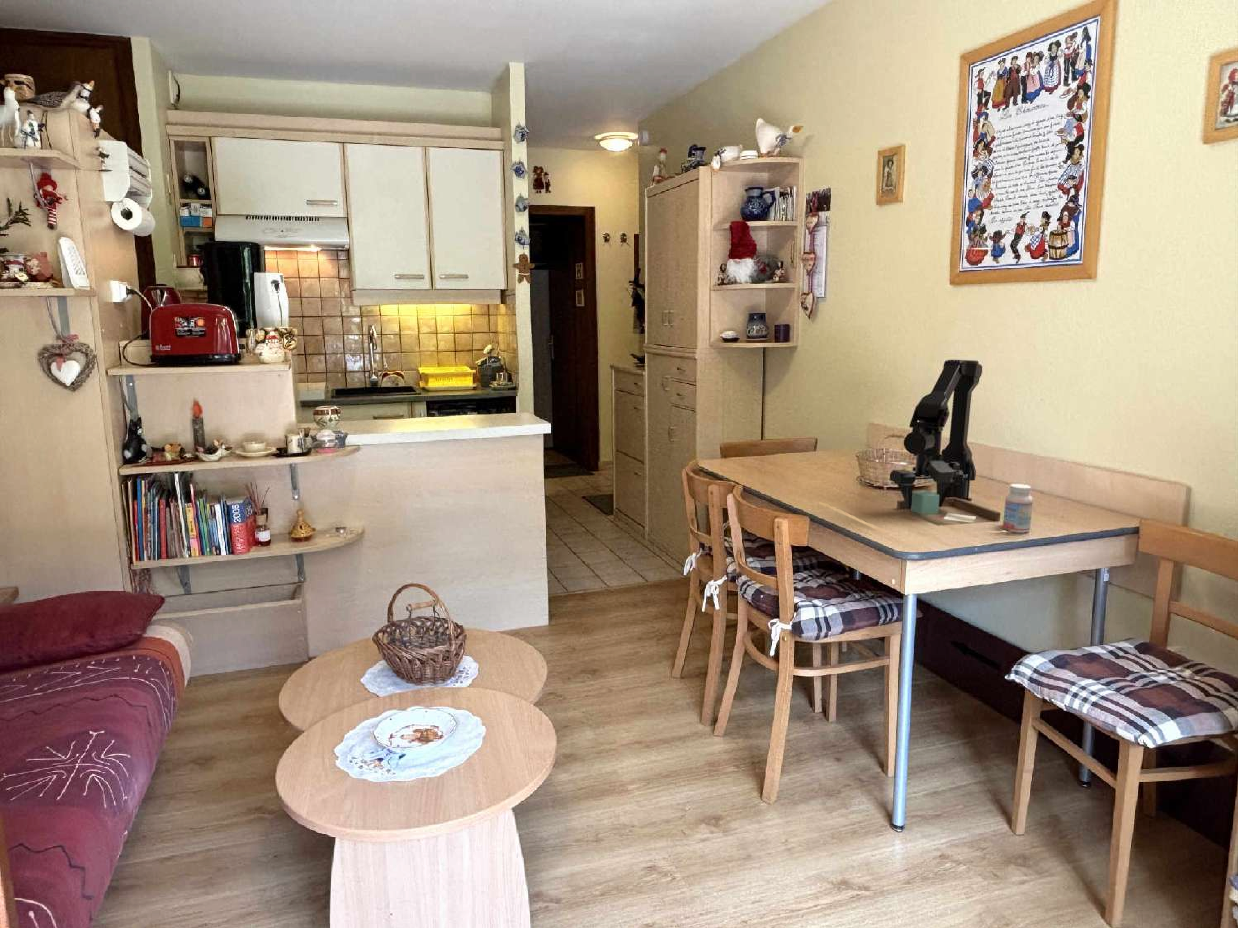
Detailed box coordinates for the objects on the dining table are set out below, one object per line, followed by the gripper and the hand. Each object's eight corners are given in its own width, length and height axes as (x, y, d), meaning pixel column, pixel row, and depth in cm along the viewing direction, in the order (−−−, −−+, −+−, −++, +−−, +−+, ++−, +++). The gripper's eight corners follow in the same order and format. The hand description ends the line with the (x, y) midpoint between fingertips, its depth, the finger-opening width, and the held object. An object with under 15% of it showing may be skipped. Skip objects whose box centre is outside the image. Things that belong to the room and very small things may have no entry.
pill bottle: (997, 527, 207) (1001, 483, 205) (1021, 526, 208) (1025, 483, 206) (1011, 533, 201) (1015, 488, 199) (1035, 533, 202) (1039, 488, 200)
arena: (954, 507, 227) (955, 497, 227) (999, 524, 210) (1000, 512, 210) (896, 511, 223) (897, 500, 222) (937, 528, 206) (938, 516, 205)
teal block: (926, 509, 222) (927, 491, 221) (938, 513, 217) (939, 495, 216) (910, 510, 221) (911, 491, 220) (921, 514, 216) (922, 496, 215)
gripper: (915, 456, 206) (911, 516, 209) (980, 453, 211) (974, 512, 214) (890, 448, 217) (886, 506, 220) (952, 446, 221) (947, 503, 224)
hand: (924, 507), depth 219 cm, fingers open, 9 cm apart
